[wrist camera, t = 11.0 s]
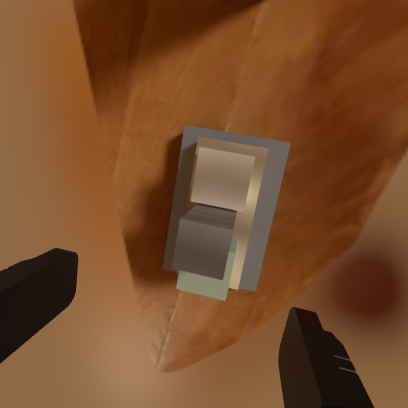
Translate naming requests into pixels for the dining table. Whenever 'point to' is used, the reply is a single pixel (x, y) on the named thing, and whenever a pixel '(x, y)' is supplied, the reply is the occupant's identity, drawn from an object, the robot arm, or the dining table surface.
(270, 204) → the dock
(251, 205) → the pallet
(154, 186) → the dining table surface
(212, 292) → the green block
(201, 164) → the cream block
